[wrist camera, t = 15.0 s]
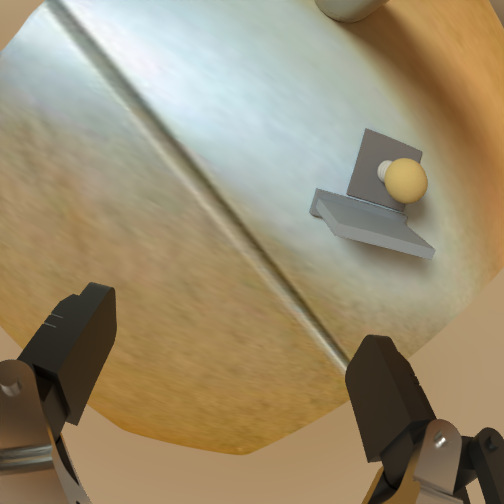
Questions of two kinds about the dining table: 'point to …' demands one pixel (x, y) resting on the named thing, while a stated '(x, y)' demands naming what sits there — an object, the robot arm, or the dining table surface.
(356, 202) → the screen
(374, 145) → the mat
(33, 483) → the robot arm
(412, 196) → the yellow light bulb
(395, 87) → the dining table surface
